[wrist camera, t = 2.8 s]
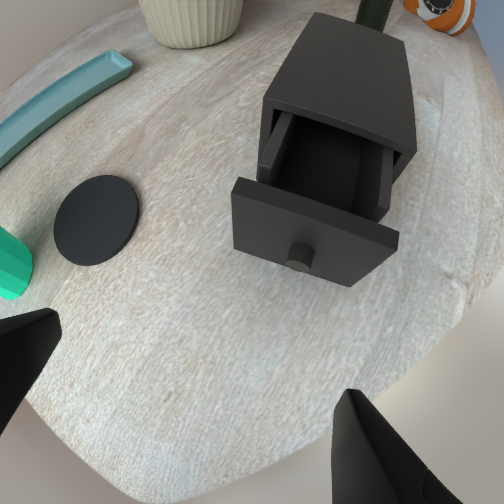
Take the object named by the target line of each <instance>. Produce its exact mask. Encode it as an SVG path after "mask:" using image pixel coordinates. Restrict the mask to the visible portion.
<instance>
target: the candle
mask: <svg viewBox="0 0 504 504" xmlns="http://www.w3.org/2000/svg"><path fill="white" fill-rule="evenodd" d="M32 270H33V262H32V253H31V252H30V250H29V249H28V247H27V246H26V245H25V244H24V243H23V242H21V241H20V240H18V239H17V238H16V237H14V236H13V235H12V234H10V233H9V232H8V231H6V230H5V229H4V228H2V227H1V226H0V296H1V297H4V298H6V299H9V300H12V299H14V298H16V297H19V296H20V295H21V294H22V293H23V291H24V290H25V288H26V287H27V286H28V284H29V281H30V277H31V274H32Z"/></svg>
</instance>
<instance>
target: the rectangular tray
mask: <svg viewBox="0 0 504 504" xmlns="http://www.w3.org/2000/svg"><path fill="white" fill-rule="evenodd" d="M133 64H134V63H133V62H131V61H130V60H128V59H127V58H125V57H124V56H122V55H121V54H119V53H118V52H116V51H115V50H113V49H111V50H108V51H106V52H104V53H102V54H100V55H99V56H97V57H95V58H93V59H91V60H89V61H88V62H86V63H84V64H82V65H81V66H79V67H77V68H76V69H74V70H72V71H71V72H69V73H68V74H66V75H64V76H63V77H61V78H60V79H58V80H57V81H55V82H54V83H52V84H51V85H49V86H48V87H46V88H45V89H44V90H42V91H41V92H39V93H38V94H36V95H35V96H34V97H32V98H31V99H30V100H28V101H27V102H26V103H24V104H23V105H22V106H21V107H19V108H18V109H17V110H16V111H14V112H13V113H12V114H11V115H10V116H8V117H7V118H6V119H5V120H4V121H3V122H1V123H0V169H1V168H2V167H3V166H4V165H5V164H6V163H7V162H8V161H9V160H10V159H11V158H13V157H14V156H15V155H16V154H17V153H18V152H19V151H21V150H22V149H23V148H24V147H25V146H26V145H28V144H29V143H30V142H31V141H32V140H34V139H35V138H36V137H37V136H39V135H40V134H41V133H42V132H44V131H45V130H46V129H48V128H49V127H50V126H51V125H53V124H54V123H55V122H57V121H58V120H60V119H61V118H62V117H64V116H65V115H67V114H68V113H69V112H71V111H72V110H74V109H75V108H77V107H78V106H80V105H81V104H83V103H84V102H86V101H87V100H89V99H90V98H92V97H93V96H95V95H97V94H98V93H100V92H102V91H103V90H105V89H107V88H108V87H110V86H112V85H114V84H115V83H117V82H119V81H121V80H123V79H124V78H126V77H128V76H129V74H130V72H131V70H132V67H133Z"/></svg>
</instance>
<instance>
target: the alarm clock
mask: <svg viewBox="0 0 504 504" xmlns="http://www.w3.org/2000/svg"><path fill="white" fill-rule="evenodd" d="M404 8H405V9H407V10H408V11H410V12H411V13H413V14H416V15H419V16H420V17H421V18H423V19H424V20H425V21H423V22H425V23H426V24H427V25H428V26H430V27H431V28H432V29H434V30H437V31H440V32H446V33H447V34H449V35H451V36H455V35H459V34H461V33H463V32H464V31H465V30H466V29H467V28H468V27H469V26H470V24H471V21H472V19H473V17H474V12H475V0H404Z"/></svg>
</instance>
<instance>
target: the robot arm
mask: <svg viewBox="0 0 504 504" xmlns="http://www.w3.org/2000/svg"><path fill="white" fill-rule="evenodd" d="M61 336H62V329H61V324H60V319H59V314H58V312H57V311H55V310H53V309H50V308H44V309H40V310H36V311H32V312H28V313H24V314H20V315H16V316H12V317H8V318H4V319H0V436H1V434H2V433H3V431H4V429H5V427H6V426H7V424H8V422H9V421H10V419H11V418H12V416H13V414H14V413H15V411H16V410H17V408H18V406H19V405H20V403H21V402H22V400H23V399H24V397H25V396H26V394H27V393H28V391H29V390H30V388H31V387H32V385H33V384H34V382H35V381H36V379H37V378H38V376H39V375H40V373H41V372H42V370H43V368H44V367H45V365H46V363H47V361H48V360H49V358H50V356H51V354H52V353H53V351H54V349H55V348H56V346H57V344H58V342H59V341H60V339H61ZM427 469H428V468H427V466H426V465H425V464H424V463H423V462H422V461H421V459H420V458H419V457H418V456H417V455H416V454H415V453H414V451H413V450H412V449H411V448H410V447H409V446H408V445H407V443H406V442H405V441H404V440H403V439H402V438H401V437H400V435H399V434H398V433H397V432H396V431H395V430H394V428H393V427H392V426H391V425H390V424H389V423H388V422H387V421H386V419H385V418H384V417H383V416H382V415H381V414H380V412H379V411H378V410H377V409H376V408H375V407H374V405H373V404H372V403H371V402H370V401H369V400H368V398H367V397H366V396H365V395H364V394H363V393H362V392H361V391H360V390H358V389H350V388H348V389H346V390H345V391H344V392H343V394H342V396H341V398H340V399H339V401H338V403H337V405H336V407H335V410H334V418H333V435H332V450H331V471H332V504H463V503H462V502H461V501H460V500H459V499H457V498H456V497H455V496H454V495H453V494H452V493H451V492H450V491H449V490H448V489H447V488H446V487H445V486H444V485H443V484H442V483H441V482H440V481H439V480H438V479H437V477H436V476H435V475H434V474H433V473H432V472H431V471H430V470H429V469H428V470H427Z"/></svg>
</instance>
